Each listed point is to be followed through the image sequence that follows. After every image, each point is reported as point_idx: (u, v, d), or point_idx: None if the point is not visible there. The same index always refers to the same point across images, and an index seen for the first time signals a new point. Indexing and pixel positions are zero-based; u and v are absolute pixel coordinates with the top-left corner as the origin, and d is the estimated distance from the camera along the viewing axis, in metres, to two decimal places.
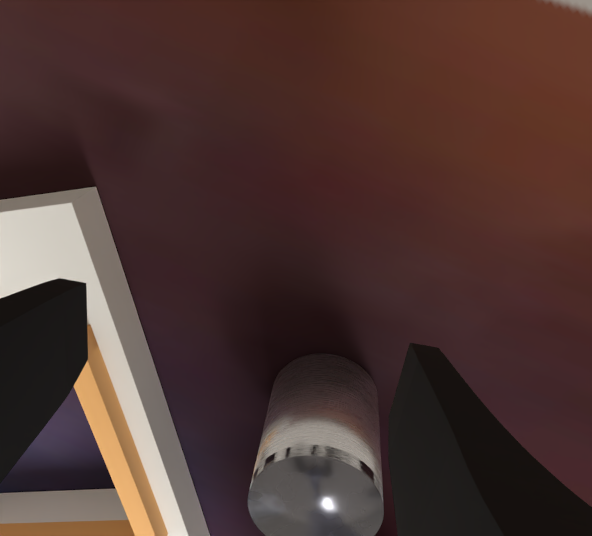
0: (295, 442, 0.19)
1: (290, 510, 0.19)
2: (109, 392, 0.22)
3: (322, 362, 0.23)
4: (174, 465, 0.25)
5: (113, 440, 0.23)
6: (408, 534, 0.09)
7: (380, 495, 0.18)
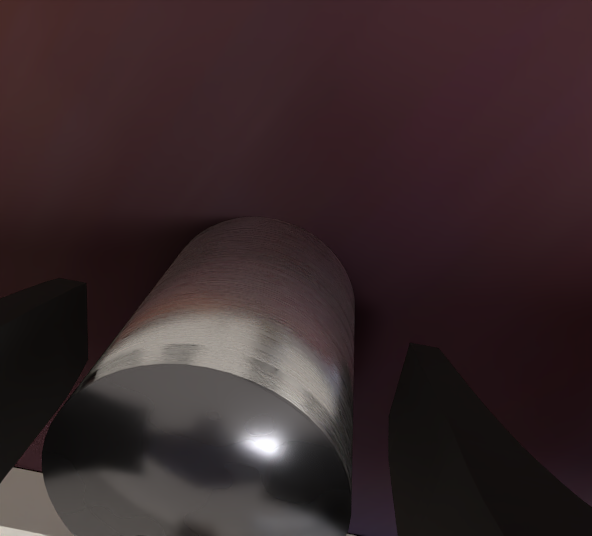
0: None
1: None
2: None
3: None
4: None
5: None
6: (408, 534, 0.09)
7: (172, 365, 0.07)
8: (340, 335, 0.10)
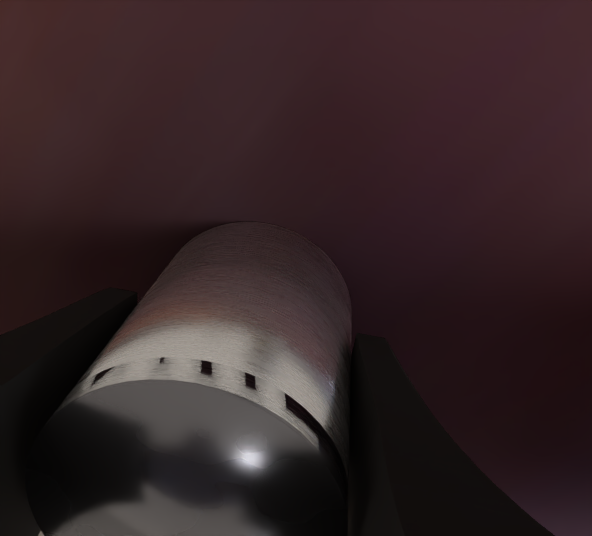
0: None
1: None
2: None
3: None
4: None
5: None
6: None
7: (160, 381, 0.07)
8: (337, 345, 0.10)
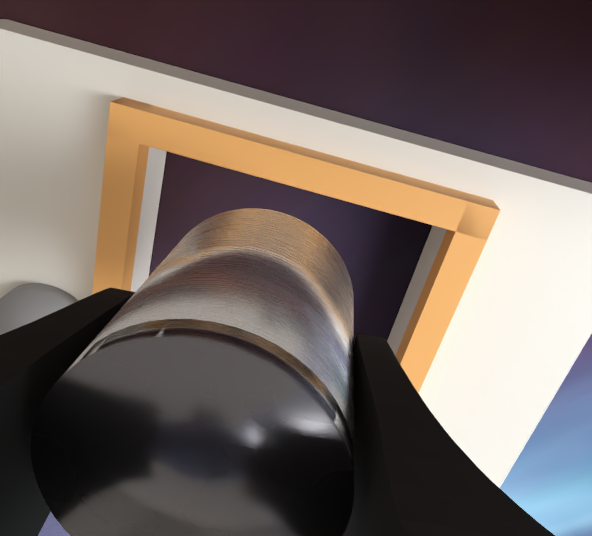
0: None
1: (187, 527, 0.08)
2: (215, 125, 0.16)
3: None
4: (393, 133, 0.17)
5: (276, 155, 0.16)
6: None
7: (168, 338, 0.07)
8: (340, 321, 0.10)
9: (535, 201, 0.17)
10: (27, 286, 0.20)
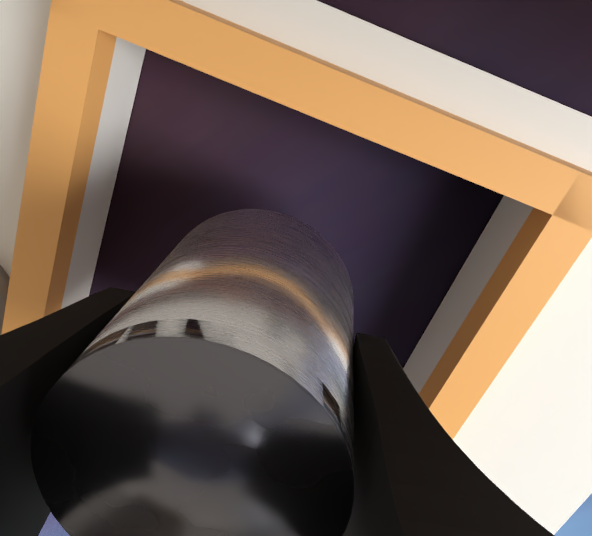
0: None
1: (187, 527, 0.08)
2: (218, 17, 0.11)
3: None
4: None
5: (306, 70, 0.11)
6: None
7: (168, 338, 0.07)
8: (340, 322, 0.10)
9: None
10: None
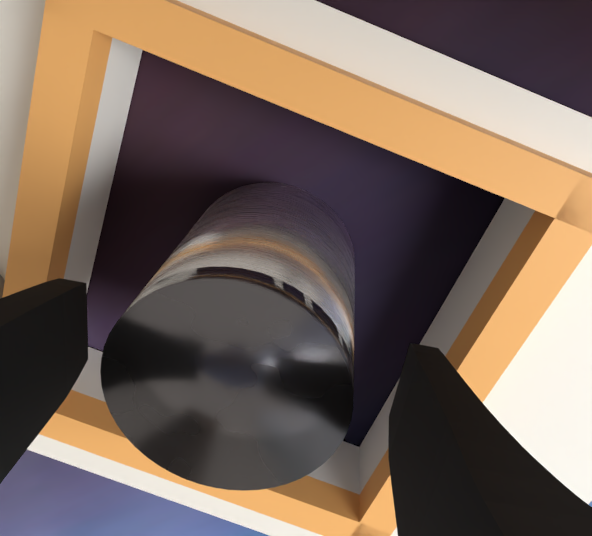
0: None
1: (222, 432, 0.10)
2: (215, 18, 0.11)
3: None
4: None
5: (304, 72, 0.10)
6: (408, 534, 0.09)
7: (211, 279, 0.09)
8: (343, 275, 0.12)
9: None
10: None
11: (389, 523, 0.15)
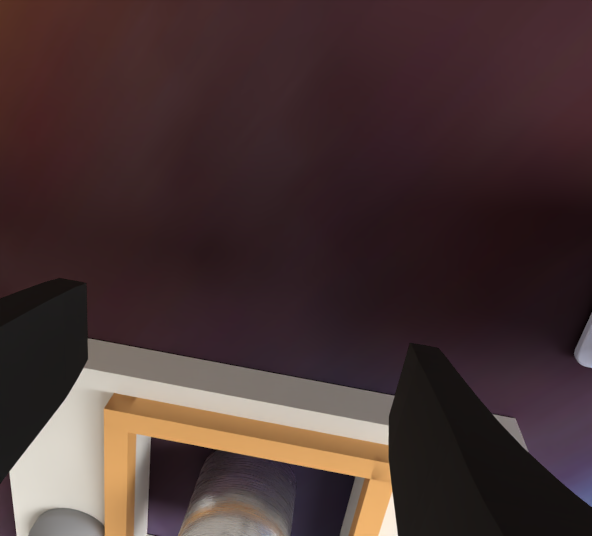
0: None
1: None
2: (183, 413, 0.22)
3: None
4: (319, 399, 0.22)
5: (229, 437, 0.21)
6: (408, 534, 0.09)
7: None
8: (275, 513, 0.23)
9: None
10: (55, 513, 0.25)
11: None
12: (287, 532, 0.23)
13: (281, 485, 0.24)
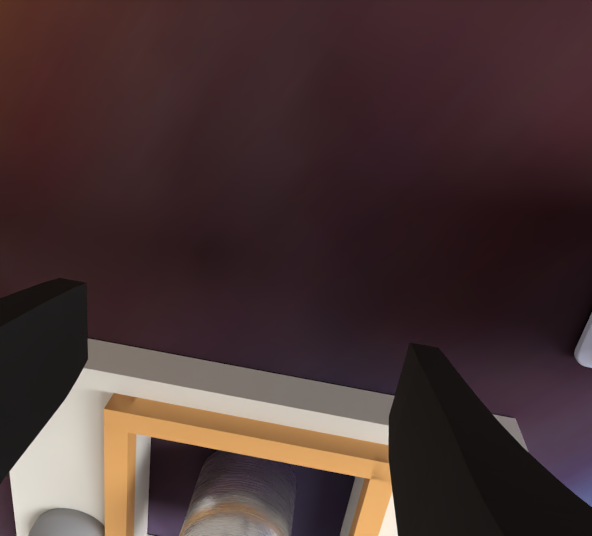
0: None
1: None
2: (183, 413, 0.22)
3: None
4: (319, 399, 0.22)
5: (229, 437, 0.21)
6: (408, 534, 0.09)
7: None
8: (275, 513, 0.23)
9: None
10: (55, 513, 0.25)
11: None
12: (287, 532, 0.23)
13: (281, 485, 0.24)
